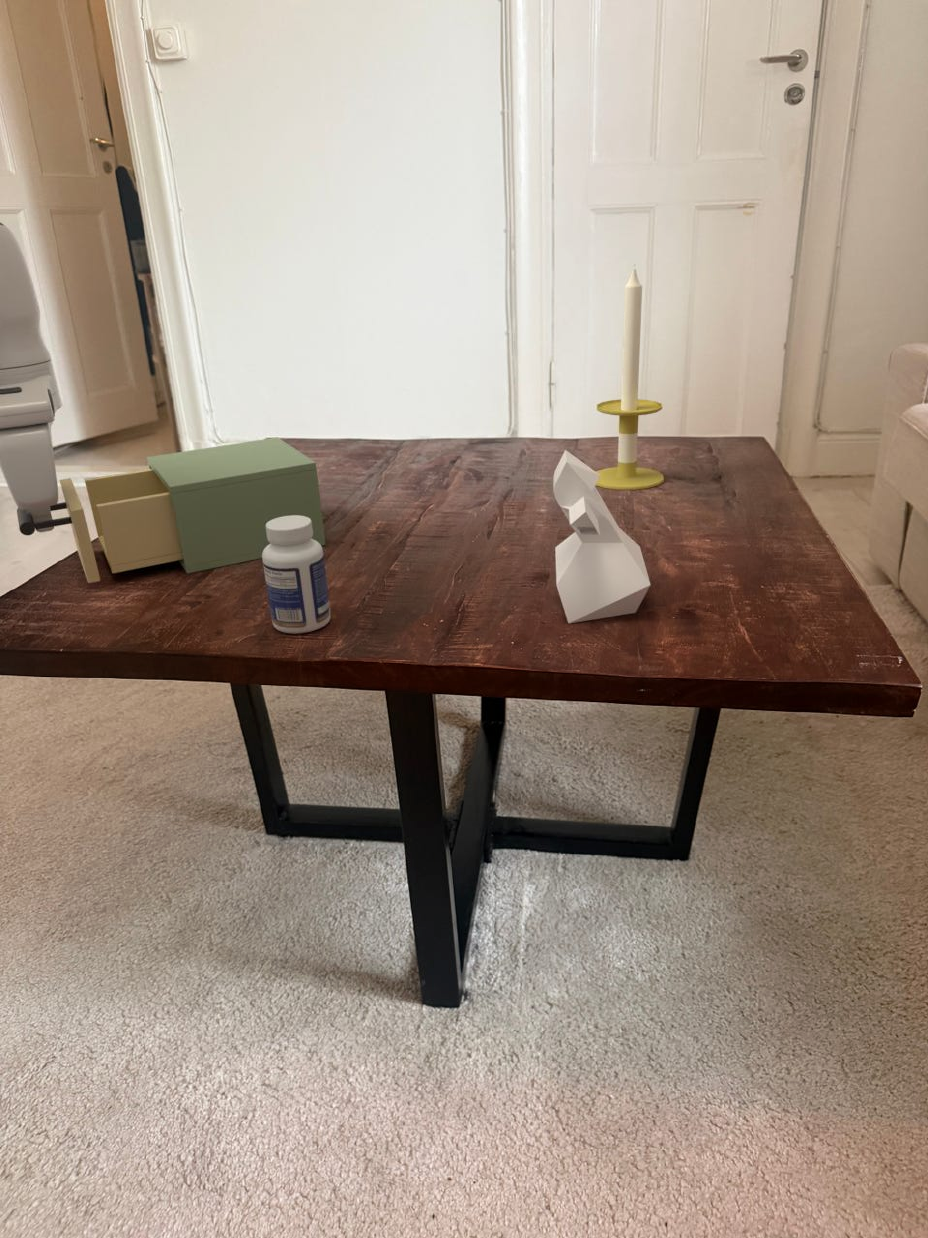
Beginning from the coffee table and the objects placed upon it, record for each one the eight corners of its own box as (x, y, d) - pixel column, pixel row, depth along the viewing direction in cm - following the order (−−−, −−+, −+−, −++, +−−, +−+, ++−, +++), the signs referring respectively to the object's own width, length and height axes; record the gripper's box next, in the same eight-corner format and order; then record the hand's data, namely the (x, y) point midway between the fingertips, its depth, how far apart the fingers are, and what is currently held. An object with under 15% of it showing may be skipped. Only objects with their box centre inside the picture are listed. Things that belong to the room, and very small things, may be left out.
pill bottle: (316, 605, 83) (304, 508, 79) (341, 624, 79) (329, 523, 75) (263, 620, 80) (247, 521, 76) (286, 641, 76) (270, 536, 72)
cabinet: (186, 573, 92) (169, 486, 88) (162, 535, 104) (146, 456, 100) (325, 545, 98) (315, 462, 94) (288, 511, 110) (277, 437, 106)
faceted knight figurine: (636, 568, 88) (641, 434, 82) (651, 629, 75) (659, 475, 69) (552, 569, 89) (552, 436, 83) (554, 629, 76) (553, 477, 70)
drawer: (36, 594, 86) (15, 519, 83) (29, 554, 97) (11, 487, 94) (229, 555, 94) (217, 485, 91) (203, 522, 105) (191, 459, 102)
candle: (583, 471, 121) (586, 263, 110) (654, 467, 121) (664, 259, 110) (596, 491, 112) (601, 268, 100) (672, 487, 112) (686, 263, 101)
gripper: (-26, 383, 92) (8, 508, 98) (-26, 415, 75) (15, 563, 81) (38, 376, 95) (68, 498, 100) (52, 406, 78) (87, 550, 84)
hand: (45, 527), depth 91 cm, fingers closed
